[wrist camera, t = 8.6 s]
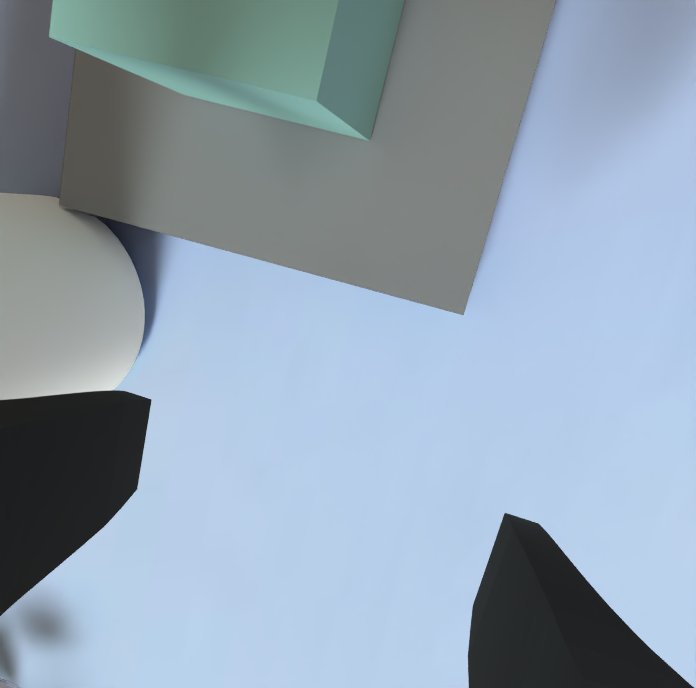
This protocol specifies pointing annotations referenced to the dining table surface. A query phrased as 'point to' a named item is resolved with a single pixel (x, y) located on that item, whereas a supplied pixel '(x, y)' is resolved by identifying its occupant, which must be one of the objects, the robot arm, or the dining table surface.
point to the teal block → (248, 52)
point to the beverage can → (64, 301)
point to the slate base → (325, 158)
